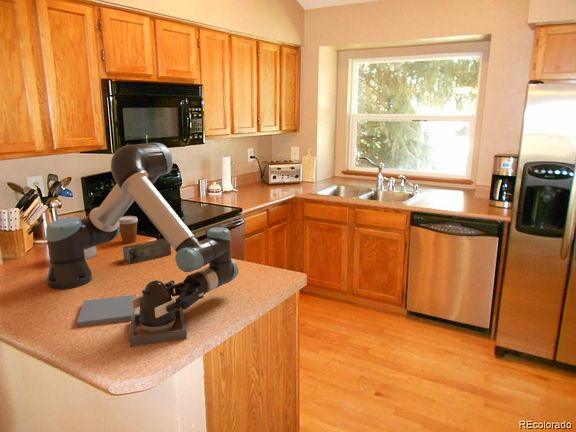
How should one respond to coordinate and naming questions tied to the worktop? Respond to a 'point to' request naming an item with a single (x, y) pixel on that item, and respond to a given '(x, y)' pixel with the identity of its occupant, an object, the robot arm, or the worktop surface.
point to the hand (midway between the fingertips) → (143, 308)
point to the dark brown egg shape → (150, 300)
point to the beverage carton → (146, 251)
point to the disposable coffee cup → (128, 228)
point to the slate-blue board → (106, 310)
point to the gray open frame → (157, 336)
